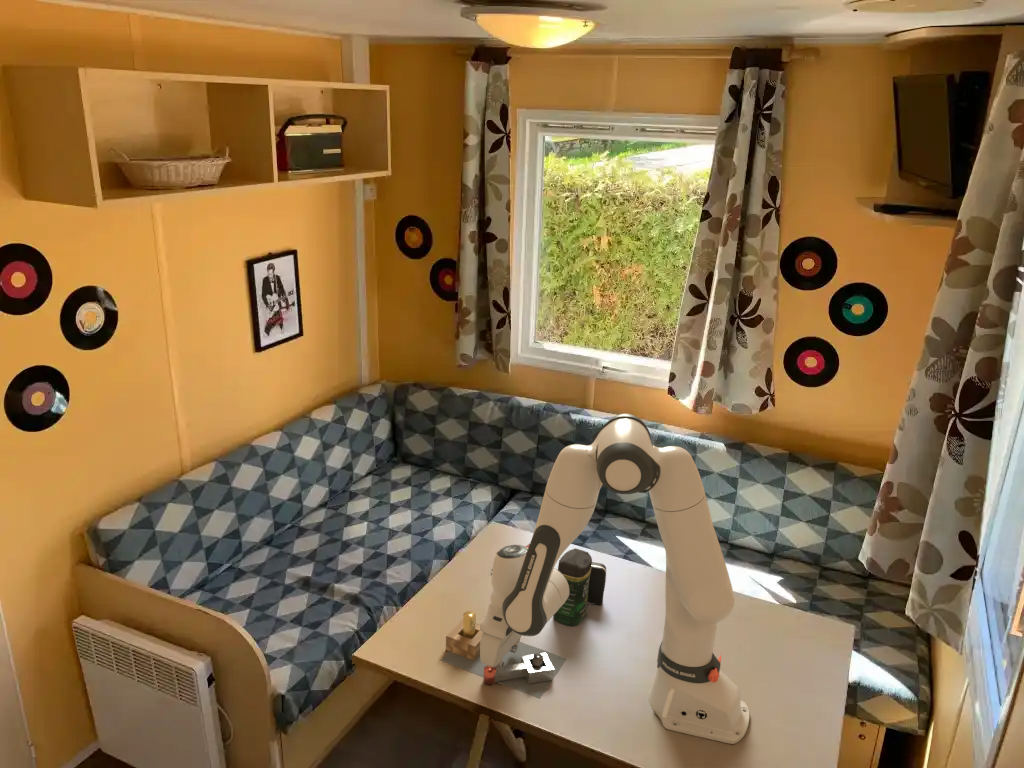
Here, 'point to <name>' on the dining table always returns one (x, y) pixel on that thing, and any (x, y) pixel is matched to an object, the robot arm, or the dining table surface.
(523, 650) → the mat
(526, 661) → the knob socket block
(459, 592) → the dining table surface
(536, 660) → the post
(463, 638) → the slot block
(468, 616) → the pin
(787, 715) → the dining table surface
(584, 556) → the coffee jar
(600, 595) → the battery charger
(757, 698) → the dining table surface
